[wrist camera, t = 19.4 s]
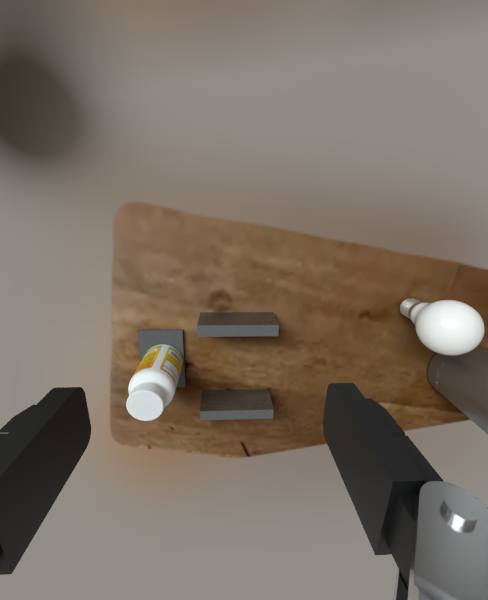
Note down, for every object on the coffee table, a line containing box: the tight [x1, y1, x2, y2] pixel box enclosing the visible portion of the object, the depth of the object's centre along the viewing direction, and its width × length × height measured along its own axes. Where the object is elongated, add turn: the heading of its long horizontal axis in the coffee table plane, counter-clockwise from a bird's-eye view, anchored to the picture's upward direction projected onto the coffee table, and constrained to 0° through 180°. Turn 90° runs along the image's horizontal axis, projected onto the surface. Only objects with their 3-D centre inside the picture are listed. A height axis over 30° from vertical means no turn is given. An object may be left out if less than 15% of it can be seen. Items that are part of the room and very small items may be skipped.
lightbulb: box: [400, 298, 484, 356], centre depth 34 cm, size 6×6×11 cm
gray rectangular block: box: [138, 330, 186, 387], centre depth 39 cm, size 6×9×1 cm, turn 179°
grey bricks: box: [197, 312, 279, 420], centre depth 38 cm, size 10×14×4 cm
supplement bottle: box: [126, 344, 183, 421], centre depth 35 cm, size 5×5×10 cm
